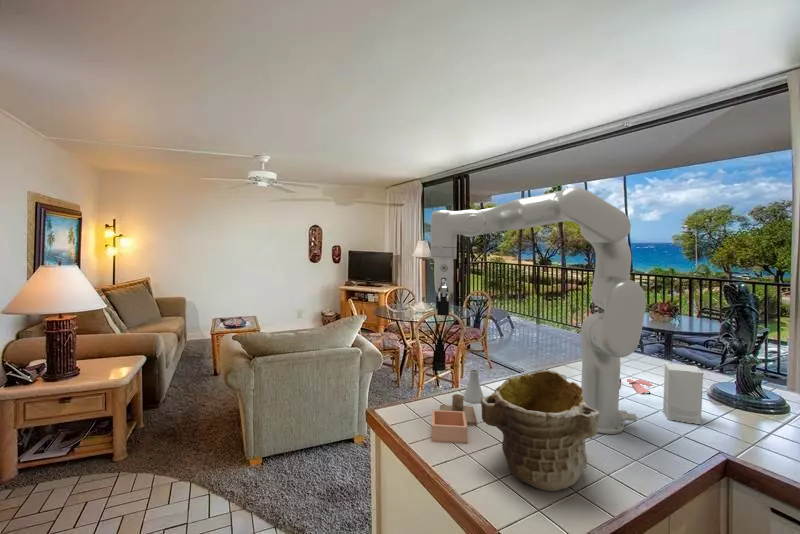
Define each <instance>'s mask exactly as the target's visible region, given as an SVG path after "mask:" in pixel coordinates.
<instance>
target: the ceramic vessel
mask: <svg viewBox="0 0 800 534" xmlns="http://www.w3.org/2000/svg"><path fill="white" fill-rule="evenodd" d="M582 391H583V389H582V388H581V386H580V384H578V383H576V382H574V381H572V382H569V381H568V380H567V376H566V375H564V374H561V373H559V372H558V371H555V370H546V369H545V370H544V369H543V370H538V371H534V372H532V373H530V374H529V373H528V374H527V373H525V374H523V375H512V376H509V378H508V379H507V380H504V381H503V382H502V383H501V385H499V386H498V387H497V388H496V389H495V390H494V392H492V393H491V394H490V395H486V396H484V397H482V398H481V403H480V404H481V405H480V406H481V419H482V421H483V423H484V424H486V425H488V426H490V427H495V428H497V429H498V430H499V431H500V432H501V433H502V435H503V436H502V444H501V446H502V447H501V449H502V452H503V455H504V458H505V460H506V462H507V465H508V468H509V470H510V472H511V474H512V475H513V476H514V477H516V478H517V480H518V481H520V482H524V483H525V484H527V485H530V486H532V487H533V488H536V489H538V490H541V491H547V492H556V491H561V490H565V489H567V488H569V487H571V486H573V485H575V484H576V483H577V482H578V481H579V479H580V477H581V476H582V474H583V473H584V472H585V470H586V468H587V464H588V460H587V459H588V458H587V457H588V456H587V452H586V451H587V450H586V439H590V438H594V437H596V435H597V436H598V432H597V431H598V422H599V415H600V413H599V412H598V411H597V410H595V409H592V408H591V407H589V406H587V405H586V403H585V402H584V401H585V399H584V396H582Z"/></svg>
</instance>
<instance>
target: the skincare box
mask: <svg viewBox="0 0 800 534" xmlns="http://www.w3.org/2000/svg"><path fill="white" fill-rule="evenodd" d="M663 375H664V376H663V377H664V379H663V380H664V382H663V405H662V406H663V407H662V412H663V414H664V415H666V416H665V417H667V418H666V419H667V420H668V419H669V420H668V421H672V420H676V421H675V422H678V421H681V422H680V423H684V422H687V424H691V423H695V424H694V425H697V424H701V425H702V409H703V408H702V407H703V406H702V405H703V387H704V386H703V385H704V384H703V383H704V382H703V381H704V372H703V370H701V369H700V368H699V367H698V366H697V365H690V364H689V365H688V364H678V363H669V362H665V363H664V374H663Z"/></svg>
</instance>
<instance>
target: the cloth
mask: <svg viewBox="0 0 800 534" xmlns="http://www.w3.org/2000/svg"><path fill="white" fill-rule="evenodd" d="M621 378H622V377H620V385H619V389H620V387H621V384H622V383H621ZM627 382H629V384H628V385H631V383H632V386H631V387H632V389H633V388H634V389H633V391H634V390H635V391H636V392H635V391H634V392H635V393H636V394H638V393H639V395H642V394H643V393H645V392H649V393H650V394H651V391H650V390H649V389H647V387H644V386H641V385H640V384H642V385H646V386H654V385H652V384H653V383H652V382H650V381H647V380H645V379H644V380H643V379H638V380H636V381H633V380H631V379H627ZM650 383H651V384H650Z"/></svg>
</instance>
